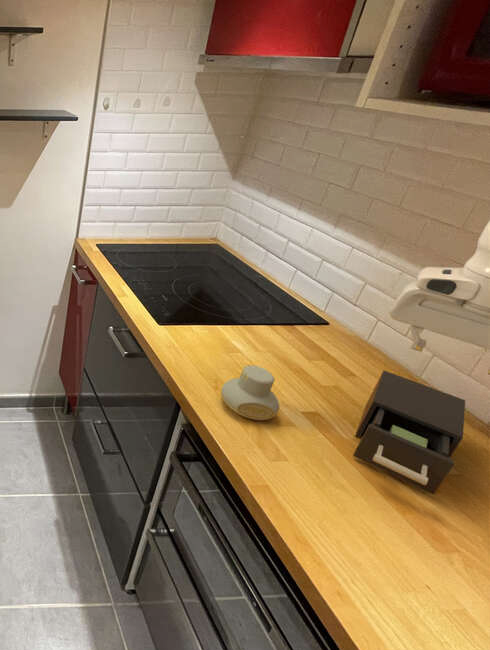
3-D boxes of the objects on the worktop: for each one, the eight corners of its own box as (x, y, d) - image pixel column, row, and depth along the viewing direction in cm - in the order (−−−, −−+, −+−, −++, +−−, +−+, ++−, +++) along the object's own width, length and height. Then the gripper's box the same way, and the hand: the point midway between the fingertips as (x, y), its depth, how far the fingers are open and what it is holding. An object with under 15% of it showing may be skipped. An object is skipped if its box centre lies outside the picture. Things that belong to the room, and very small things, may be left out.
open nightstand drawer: (431, 512, 77) (452, 480, 74) (348, 470, 85) (364, 439, 81) (438, 454, 88) (457, 424, 85) (364, 422, 96) (379, 393, 93)
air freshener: (223, 416, 98) (236, 380, 94) (214, 391, 105) (225, 357, 101) (279, 427, 95) (295, 390, 91) (266, 401, 103) (280, 366, 98)
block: (416, 458, 86) (428, 439, 84) (413, 473, 83) (425, 453, 81) (382, 443, 89) (392, 424, 87) (378, 456, 86) (389, 437, 84)
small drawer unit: (438, 474, 85) (463, 437, 81) (354, 436, 93) (373, 400, 89) (443, 435, 94) (465, 400, 90) (366, 403, 102) (383, 370, 99)
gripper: (599, 309, 66) (546, 383, 71) (411, 264, 79) (379, 329, 85) (606, 325, 62) (549, 402, 67) (407, 274, 75) (374, 342, 81)
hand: (453, 361), depth 76 cm, fingers open, 8 cm apart
